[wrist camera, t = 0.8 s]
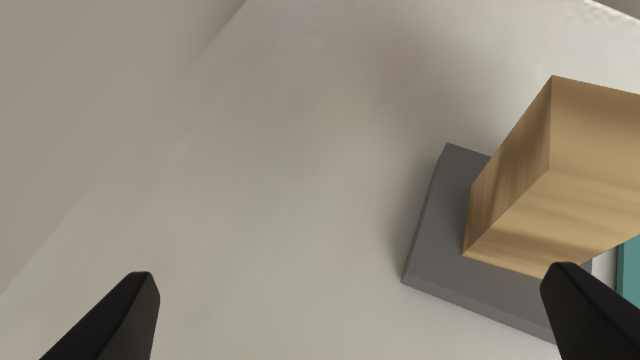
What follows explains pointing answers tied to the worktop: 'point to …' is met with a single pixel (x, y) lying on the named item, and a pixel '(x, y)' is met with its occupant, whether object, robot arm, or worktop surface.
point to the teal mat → (629, 270)
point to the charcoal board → (462, 272)
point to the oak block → (559, 181)
